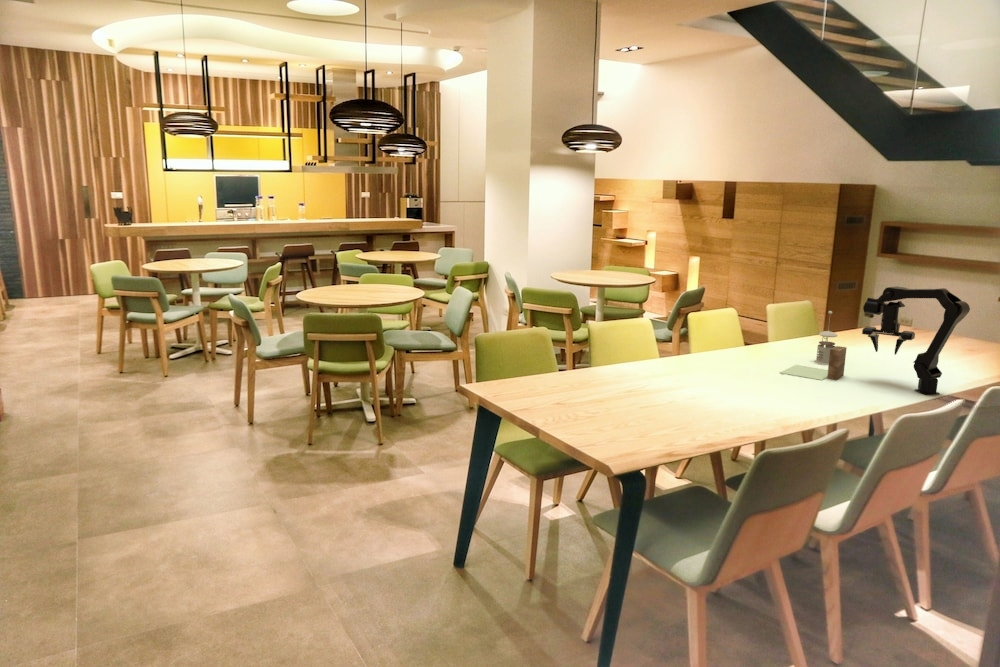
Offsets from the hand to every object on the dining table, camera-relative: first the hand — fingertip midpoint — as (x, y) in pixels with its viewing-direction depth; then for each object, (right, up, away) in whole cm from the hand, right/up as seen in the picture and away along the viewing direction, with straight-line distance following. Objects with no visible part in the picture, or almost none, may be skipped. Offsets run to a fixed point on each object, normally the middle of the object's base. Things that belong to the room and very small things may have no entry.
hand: (885, 353), depth 293 cm
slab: (-16, -11, +11) cm, 22 cm away
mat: (-24, -9, +19) cm, 32 cm away
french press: (-8, -6, +38) cm, 39 cm away
